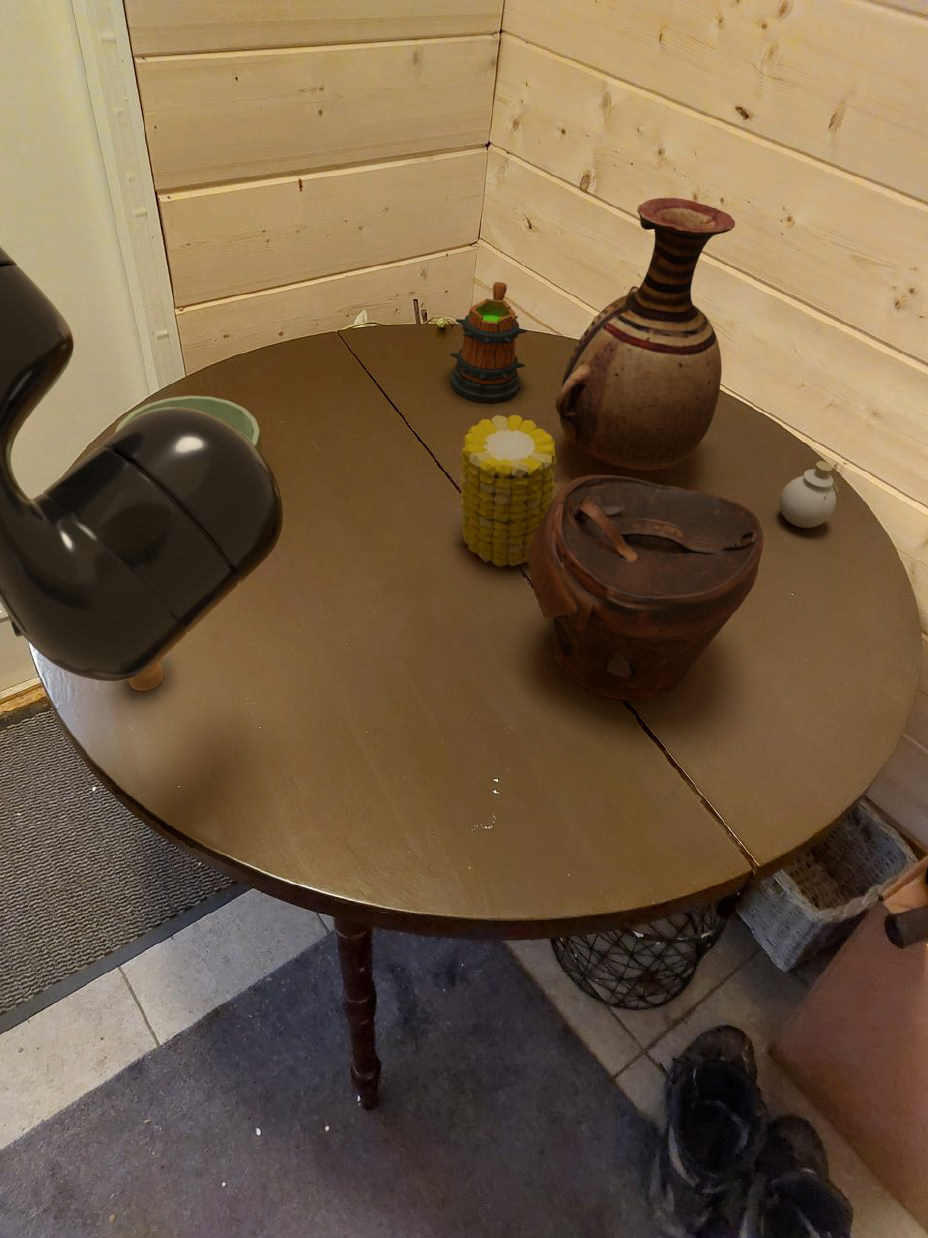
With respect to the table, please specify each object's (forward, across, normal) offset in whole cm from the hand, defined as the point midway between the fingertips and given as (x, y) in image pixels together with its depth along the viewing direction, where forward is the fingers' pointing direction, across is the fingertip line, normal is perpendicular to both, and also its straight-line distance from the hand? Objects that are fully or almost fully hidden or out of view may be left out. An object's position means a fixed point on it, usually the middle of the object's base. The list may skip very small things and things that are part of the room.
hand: (122, 590), depth 61 cm
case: (+3, -41, +19) cm, 45 cm away
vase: (+21, -62, +1) cm, 65 cm away
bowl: (+33, -13, -11) cm, 37 cm away
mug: (+38, -56, -16) cm, 69 cm away
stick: (+14, 0, +7) cm, 16 cm away
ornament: (+8, -73, +14) cm, 75 cm away
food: (+16, -39, +6) cm, 43 cm away
